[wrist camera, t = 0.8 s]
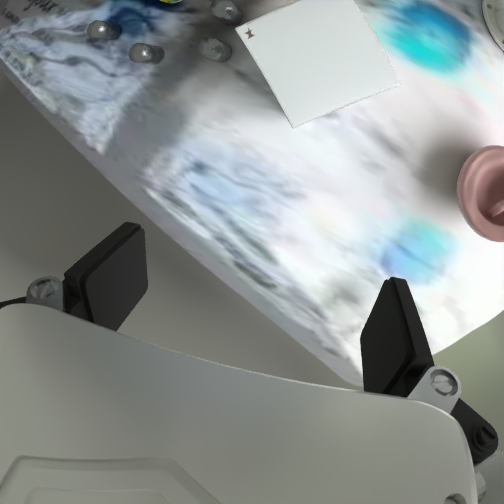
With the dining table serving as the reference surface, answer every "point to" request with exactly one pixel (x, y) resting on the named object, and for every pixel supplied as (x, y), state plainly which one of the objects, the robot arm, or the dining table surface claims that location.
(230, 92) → the dining table surface
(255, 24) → the supplement box
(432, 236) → the dining table surface
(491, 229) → the mortar and pestle
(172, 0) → the supplement bottle
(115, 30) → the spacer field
